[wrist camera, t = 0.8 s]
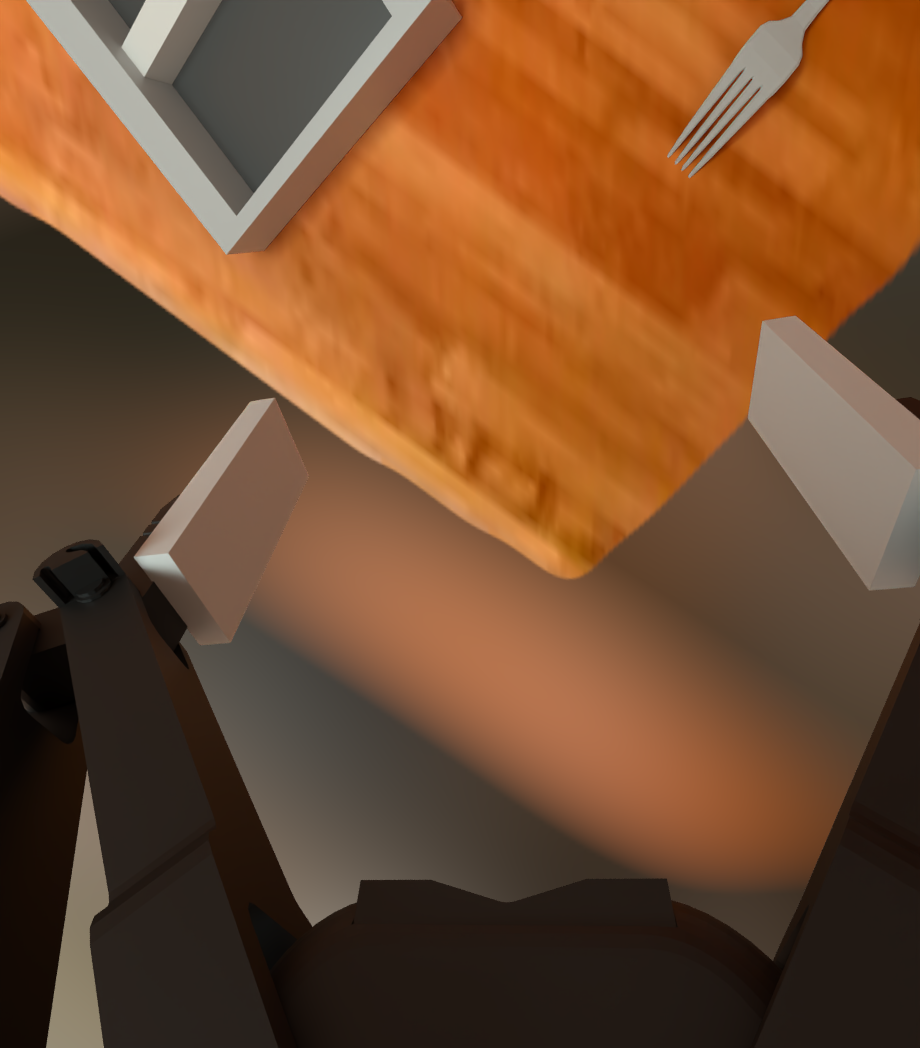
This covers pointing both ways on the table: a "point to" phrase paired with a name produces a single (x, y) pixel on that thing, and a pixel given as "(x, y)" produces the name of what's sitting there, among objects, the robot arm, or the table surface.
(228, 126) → the track
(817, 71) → the table surface
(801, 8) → the fork
